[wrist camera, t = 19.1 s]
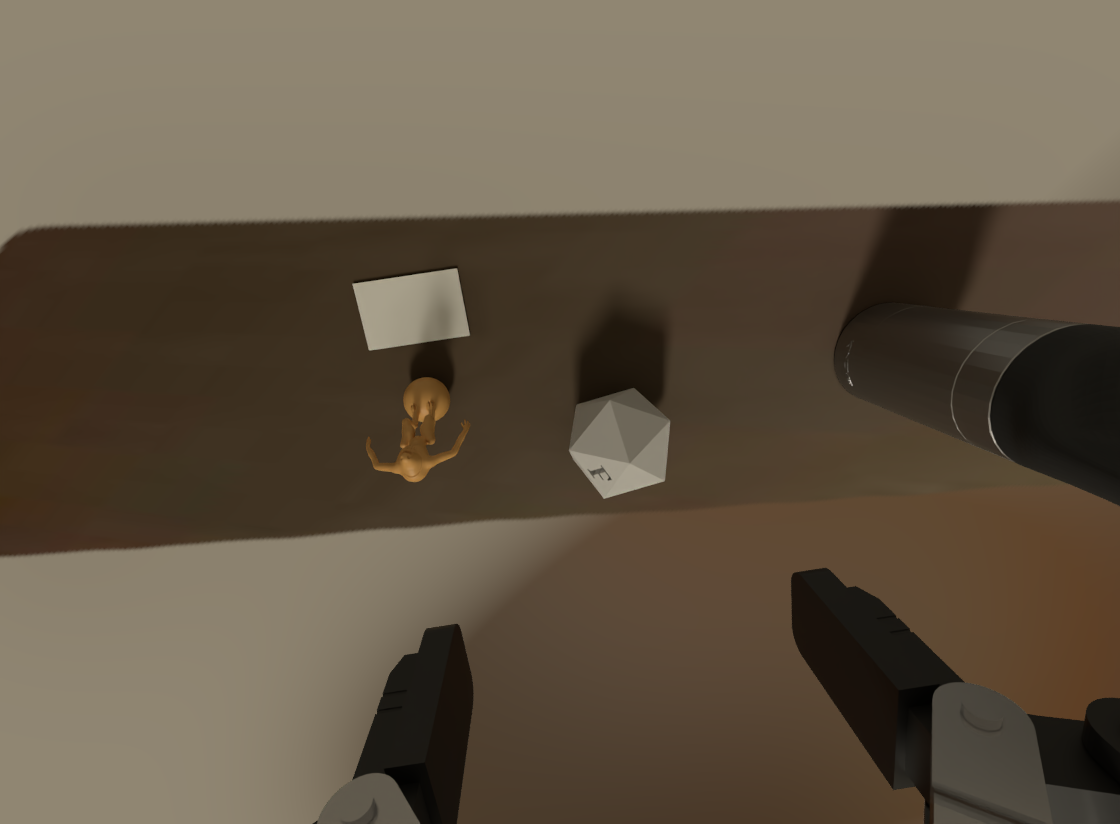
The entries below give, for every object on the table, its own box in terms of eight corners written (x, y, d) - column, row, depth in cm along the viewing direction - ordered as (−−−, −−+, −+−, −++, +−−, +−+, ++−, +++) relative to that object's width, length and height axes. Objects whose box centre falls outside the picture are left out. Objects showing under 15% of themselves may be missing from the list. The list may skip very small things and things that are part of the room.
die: (546, 415, 48) (549, 452, 39) (626, 361, 47) (650, 386, 38) (596, 483, 51) (610, 534, 41) (673, 433, 50) (707, 473, 40)
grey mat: (457, 268, 44) (456, 268, 44) (470, 335, 46) (469, 335, 46) (353, 283, 44) (352, 283, 44) (369, 350, 46) (369, 350, 46)
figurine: (471, 365, 47) (450, 398, 35) (485, 427, 48) (470, 478, 37) (380, 381, 47) (331, 420, 35) (398, 443, 48) (355, 499, 37)
